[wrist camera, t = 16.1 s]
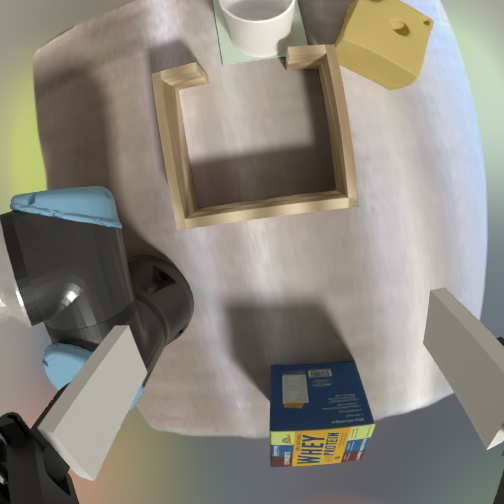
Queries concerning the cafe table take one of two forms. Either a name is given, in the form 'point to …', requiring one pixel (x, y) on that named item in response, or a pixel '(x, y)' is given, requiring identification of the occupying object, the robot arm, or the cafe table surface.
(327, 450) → the protein box
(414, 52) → the cheese
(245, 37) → the mug
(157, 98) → the frame
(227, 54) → the mat
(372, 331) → the cafe table surface
